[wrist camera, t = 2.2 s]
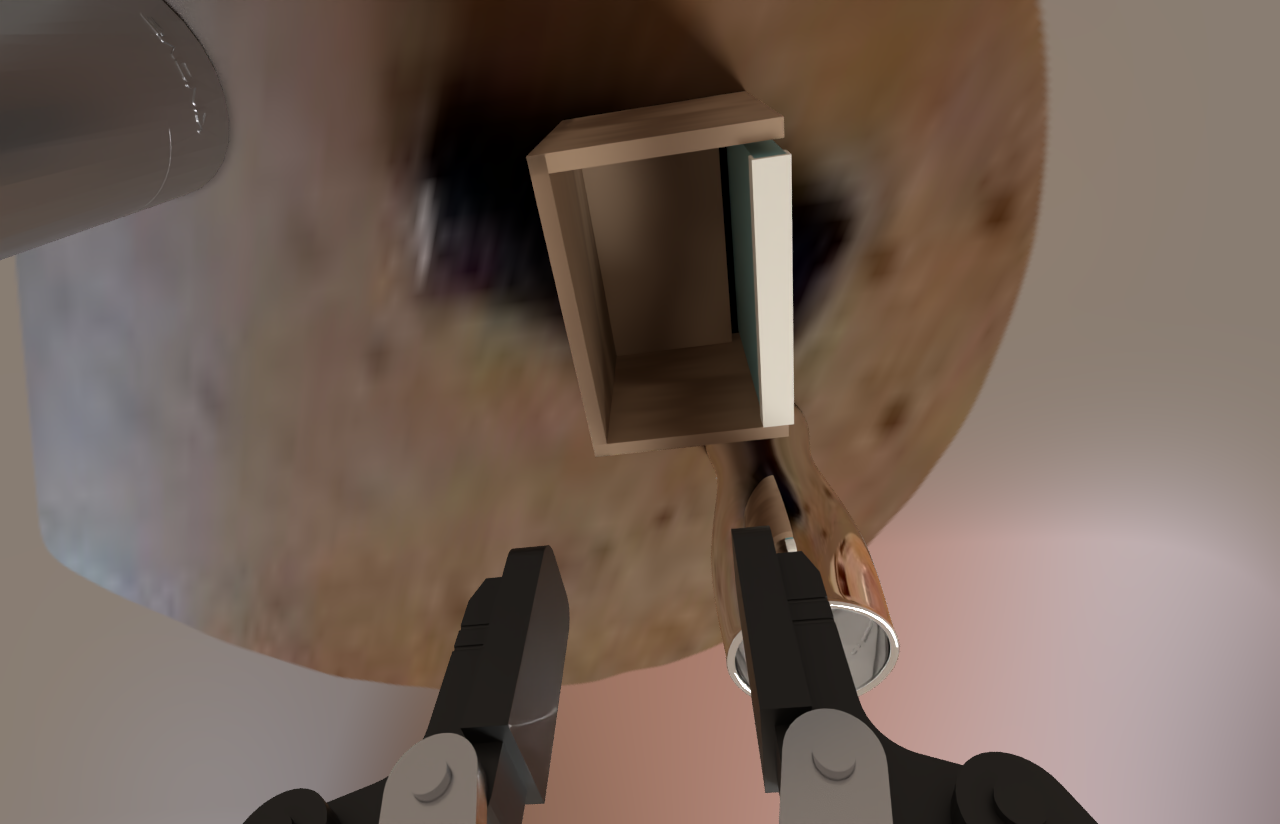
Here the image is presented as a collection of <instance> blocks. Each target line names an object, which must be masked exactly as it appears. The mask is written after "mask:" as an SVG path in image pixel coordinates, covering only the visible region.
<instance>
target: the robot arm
mask: <svg viewBox="0 0 1280 824" xmlns="http://www.w3.org/2000/svg"><path fill="white" fill-rule="evenodd" d="M228 143H229V117H228V111H227V106H226V100H225V96H224V93H223V90H222V87H221V85H220V82H219V79H218V77H217V74H216V71H215V69H214V68H213V66H212V64H211V62H210V60H209V58H208V57H207V55H206V53H205V51H204V49H203V48H202V46H201V44H200V43H199V42H198V40H197V39H196V38H195V36H194V35H193V34H192V32H191V31H190V30H189V28H188V27H187V26H186V25H185V23H184V22H183V21H182V20H181V19H180V18H179V17H178V16H177V15H176V14H175V13H174V12H173V11H172V10H171V9H170V8H169V7H168V6H167V5H166V4H165V3H164V2H163V1H162V0H0V260H2V259H5V258H7V257H10V256H13V255H16V254H19V253H22V252H25V251H27V250H30V249H33V248H36V247H39V246H42V245H44V244H47V243H50V242H53V241H56V240H59V239H61V238H64V237H67V236H70V235H73V234H76V233H78V232H81V231H84V230H87V229H90V228H93V227H95V226H98V225H101V224H104V223H107V222H110V221H112V220H115V219H118V218H121V217H125V216H128V215H130V214H133V213H136V212H139V211H142V210H144V209H147V208H150V207H153V206H156V205H159V204H161V203H164V202H167V201H170V200H173V199H175V198H178V197H181V196H184V195H186V194H189V193H191V192H193V191H195V190H198V189H200V188H202V187H203V186H204V185H205V184H206V183H207V182H209V181H210V180H211V179H212V178H213V177H214V176H215V174H216V173H217V171H218V169H219V168H220V166H221V165H222V163H223V161H224V157H225V154H226V150H227V147H228ZM731 537H732V549H733V560H734V571H735V583H736V592H737V601H738V609H739V616H740V623H741V630H742V637H743V643H744V650H745V657H746V664H747V671H748V677H749V684H750V691H751V698H752V705H753V711H754V718H755V725H756V732H757V739H758V745H759V752H760V759H761V765H762V773H763V780H764V786H765V793H771V792H779V795H780V812H779V813H780V814H779V824H1098V823H1097V822H1096V821H1095V820H1094V819H1093V818H1092V817H1091V816H1090V815H1089V813H1087V811H1086V810H1085V809H1083V807H1082V806H1081V805H1080V804H1079V803H1078V802H1077V801H1076V800H1075V799H1074V798H1073V796H1072V795H1071V794H1070V793H1069V792H1068V791H1067V790H1066V789H1065V788H1064V787H1063V786H1062V785H1061V784H1060V783H1059V782H1058V781H1057V780H1056V779H1055V778H1054V777H1053V776H1052V775H1050V774H1049V773H1048V772H1046V771H1045V770H1044V769H1043V768H1041V767H1039V766H1038V765H1036V764H1034V763H1032V762H1031V761H1029V760H1026V759H1024V758H1022V757H1019V756H1016V755H1013V754H1009V753H1003V752H987V753H981V754H979V755H976V756H974V757H972V758H971V759H970V760H968V761H967V762H966V763H965V764H964V765H960V764H956V763H953V762H949V761H945V760H941V759H937V758H934V757H930V756H926V755H923V754H918V753H915V752H912V751H910V750H907V749H905V748H903V747H901V746H899V745H897V744H896V743H894V742H892V741H891V740H889V739H888V738H887V737H886V736H884V735H883V734H882V733H881V732H880V731H879V730H878V729H877V728H876V727H875V726H874V725H873V724H872V723H871V721H870V720H869V719H868V717H867V716H866V714H865V712H864V710H863V709H862V706H861V704H860V701H859V698H858V695H857V691H856V688H855V685H854V682H853V678H852V675H851V672H850V668H849V665H848V662H847V659H846V655H845V652H844V649H843V646H842V642H841V639H840V636H839V633H838V629H837V626H836V623H835V622H834V616H833V613H832V610H831V607H830V603H829V601H828V598H827V594H826V590H825V587H824V584H823V580H822V577H821V574H820V571H819V570H818V569H817V568H816V567H815V566H814V564H813V563H812V562H811V561H810V560H809V559H808V558H807V556H806V555H805V554H804V553H803V552H802V551H796V552H785V553H776V550H775V545H774V541H773V537H772V533H771V529H770V526H769V525H767V526H756V527H745V528H735V529H731ZM568 632H569V604H568V599H567V595H566V591H565V588H564V585H563V582H562V579H561V575H560V572H559V569H558V566H557V562H556V559H555V556H554V553H553V550H552V548H551V547H550V546H549V545H547V546H537V547H526V548H515V549H511V550H510V552H509V554H508V557H507V561H506V564H505V568H504V572H503V575H502V577H497V578H486V579H485V581H484V582H483V583H482V584H481V586H480V587H479V588H478V590H477V591H476V592H475V594H474V595H473V596H472V597H471V599H470V600H469V602H468V605H467V608H466V611H465V614H464V617H463V620H462V624H461V631H459V633H458V636H457V639H456V642H455V645H454V647H455V650H454V651H452V655H451V658H450V661H449V664H448V667H447V670H446V673H445V676H444V679H443V682H442V686H441V689H440V692H439V695H438V698H437V701H436V704H435V707H434V710H433V713H432V717H431V720H430V723H429V726H428V729H427V731H426V734H425V736H424V738H423V740H421V741H419V742H418V743H417V744H415V745H414V746H412V747H411V748H410V749H409V750H408V751H407V752H406V753H405V754H404V755H403V756H402V757H401V758H400V759H399V760H398V762H397V763H396V765H395V766H394V767H393V769H392V771H391V773H390V775H389V776H388V777H386V778H385V779H383V780H381V781H379V782H376V783H375V784H372V785H370V786H367V787H364V788H362V789H359V790H357V791H354V792H352V793H350V794H347V795H345V796H342V797H340V798H337V799H335V800H332V801H330V802H327V803H326V802H325V801H324V799H323V798H322V797H321V796H320V795H319V794H318V793H316V792H315V791H313V790H309V789H303V788H300V789H293V790H289V791H286V792H283V793H281V794H279V795H277V796H275V797H273V798H272V799H270V800H268V801H267V802H265V803H264V804H263V805H262V806H260V807H259V808H258V809H257V810H256V811H255V812H253V813H252V814H251V815H250V816H249V818H247V820H246V821H245V822H244V823H243V824H522V819H523V812H524V806H525V804H544V802H545V796H546V789H547V782H548V774H549V767H550V760H551V753H552V746H553V739H554V731H555V725H556V717H557V711H558V703H559V695H560V689H561V682H562V675H563V668H564V661H565V654H566V647H567V639H568Z"/></svg>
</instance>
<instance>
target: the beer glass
mask: <svg viewBox="0 0 1280 824" xmlns="http://www.w3.org/2000/svg"><path fill="white" fill-rule="evenodd" d="M705 447H706V452H707V454H708V457H709V459H710V461H711V464H712V466H713V468H714V470H715V473H716V477H717V478H716V479H717V496H716V504H715V511H714V520H713V528H712V541H711V570H712V584H713V591H714V598H715V605H716V611H717V616H718V621H719V626H720V631H721V635H722V640H723V644H724V649H725V653H726V662H727V669H728V672H729V675H730V677H731V678H732V680H733V681H734V683H735V684H736V685H737V686H738V687H739V688H740V689H741V690H742V691H744V692H745V693H746V694H748V695H749V696H751V691H750V684H749V677H748V671H747V664H746V657H745V650H744V643H743V637H742V630H741V623H740V616H739V609H738V601H737V592H736V583H735V571H734V560H733V549H732V537H731V529H735V528H745V527H756V526H767V525H769V526H770V529H771V533H772V537H773V541H774V545H775V550H776V553H785V552H796V551H802V552H803V553H804V554H805V555H806V556H807V558H808V559H809V560H810V561H811V562H812V563H813V564H814V566H815V567H816V568H817V569H818V570H819V571H820V574H821V577H822V580H823V584H824V587H825V590H826V594H827V598H828V601H829V603H830V607H831V610H832V613H833V616H834V622H835V623H836V626H837V629H838V633H839V636H840V639H841V642H842V646H843V649H844V652H845V655H846V659H847V662H848V665H849V668H850V672H851V675H852V678H853V682H854V685H855V688H856V691H857V695H858V697H859V696H861V695H863V694H865V693H867V692H868V691H870V690H872V689H873V688H875V687H876V686H877V685H879V684H880V683H881V682H882V681H883V680H884V679H885V678H886V677H887V676H888V675H889V674H890V673H891V671H892V670H893V668H894V666H895V665H896V662H897V660H898V656H899V650H900V645H899V639H898V636H897V634H896V632H895V630H894V627H893V624H892V620H891V617H890V614H889V610H888V607H887V603H886V600H885V596H884V593H883V590H882V587H881V583H880V580H879V577H878V574H877V572H876V569H875V566H874V563H873V561H872V558H871V555H870V553H869V551H868V548H867V546H866V544H865V542H864V540H863V537H862V535H861V533H860V531H859V529H858V527H857V525H856V524H855V522H854V520H853V519H852V517H851V515H850V514H849V512H848V511H847V509H846V507H845V506H844V504H843V503H842V501H841V500H840V498H839V497H838V496H837V494H836V493H835V491H834V490H833V489H832V487H831V486H830V484H829V483H828V482H827V480H826V479H825V478H824V476H823V475H822V474H821V472H820V471H819V469H818V468H817V466H816V465H815V463H814V461H813V459H812V455H811V450H810V435H809V428H808V424H807V421H806V419H805V417H804V415H803V414H802V412H801V411H800V410H799V409H798V408H797V407H796V406H795V405H794V424H791V425H789V436H788V437H779V438H769V439H760V440H751V441H741V442H732V443H723V444H713V445H705Z"/></svg>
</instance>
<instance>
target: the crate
mask: <svg viewBox="0 0 1280 824" xmlns="http://www.w3.org/2000/svg"><path fill="white" fill-rule="evenodd" d="M779 138H784V116H782V115H781V114H779V113H778V112H776V111H775V110H773V109H772V108H770V107H769V106H767V105H766V104H764V103H763V102H761V101H760V100H758V99H757V98H755V97H754V96H752V95H751V94H750V93H748V92H747V91H742V92H736V93H729V94H723V95H717V96H711V97H705V98H698V99H692V100H686V101H680V102H673V103H667V104H661V105H655V106H648V107H642V108H636V109H630V110H624V111H617V112H611V113H605V114H599V115H592V116H586V117H580V118H574V119H568V120H562V121H561V122H560V123H559V124H558V125H557V126H556V127H555V128H554V129H553V130H552V131H551V132H550V133H549V134H548V135H547V136H546V137H545V138H544V139H543V140H542V141H541V142H540V143H539V144H538V145H537V146H536V147H535V148H534V149H533V150H532V151H531V152H530V153H529V154H528V155H527V156H526V159H527V163H528V167H529V172H530V176H531V180H532V185H533V189H534V193H535V198H536V202H537V206H538V211H539V215H540V219H541V224H542V228H543V232H544V237H545V241H546V245H547V250H548V254H549V258H550V263H551V267H552V271H553V276H554V280H555V284H556V289H557V293H558V297H559V302H560V306H561V310H562V315H563V319H564V323H565V328H566V332H567V336H568V341H569V345H570V349H571V354H572V358H573V362H574V367H575V371H576V375H577V380H578V384H579V388H580V393H581V397H582V401H583V406H584V410H585V414H586V419H587V423H588V427H589V432H590V436H591V440H592V445H593V449H594V453H595V457H601V456H610V455H619V454H629V453H638V452H647V451H657V450H666V449H676V448H685V447H694V446H704V445H713V444H723V443H732V442H741V441H751V440H760V439H769V438H779V437H788V436H789V425H782V426H773V427H764V428H763V425H762V421H761V417H760V405H759V401H758V398H757V394H756V391H755V387H754V384H753V380H752V376H751V373H750V369H749V366H748V362H747V359H746V355H745V352H744V348H743V345H742V341H741V338H740V334H739V333H733V334H732V331H731V317H730V303H729V288H728V274H727V260H726V246H725V231H724V217H723V203H722V189H721V174H720V160H719V148H720V147H726V146H733V145H740V144H746V143H753V142H759V141H766V140H772V139H779Z"/></svg>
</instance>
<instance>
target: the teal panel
mask: <svg viewBox="0 0 1280 824" xmlns="http://www.w3.org/2000/svg"><path fill="white" fill-rule="evenodd" d="M727 161H728V177H729V193H730V209H731V224H732V240H733V256H734V272H735V287H736V303H737V319H738V330H739V334H740V338H741V341H742V345H743V348H744V352H745V355H746V359H747V362H748V366H749V369H750V373H751V376H752V380H753V384H754V387H755V391H756V394H757V398H758V401H759V405H760V417H761V421H762V425H763V428H764V427H773V426H782V425H791V424H794V374H793V276H792V178H791V154H790V153H789V152H788V151H787V150H782V149H781V148H780V147H779V146H778V145H777V144H776V143H775V142H774V141H773V140H766V141H759V142H753V143H746V144H740V145H733V146H727Z"/></svg>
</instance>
